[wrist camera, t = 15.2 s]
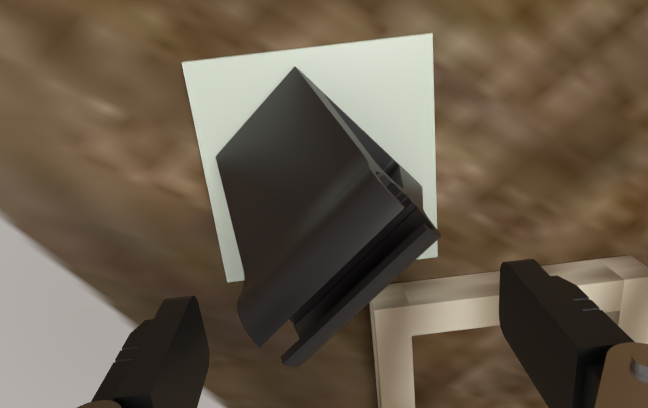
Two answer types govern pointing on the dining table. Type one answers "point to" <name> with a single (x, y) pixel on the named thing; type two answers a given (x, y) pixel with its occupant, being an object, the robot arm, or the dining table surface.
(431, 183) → the sage mat
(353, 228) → the phone stand
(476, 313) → the pocket holder
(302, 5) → the dining table surface
